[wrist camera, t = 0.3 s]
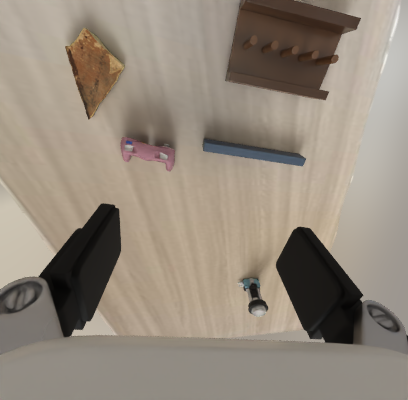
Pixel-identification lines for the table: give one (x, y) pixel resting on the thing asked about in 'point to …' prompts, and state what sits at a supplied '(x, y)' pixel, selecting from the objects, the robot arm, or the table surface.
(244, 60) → the rack
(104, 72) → the golden brown flat wedge
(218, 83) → the table surface
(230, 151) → the bar
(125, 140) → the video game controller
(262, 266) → the table surface
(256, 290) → the push button
